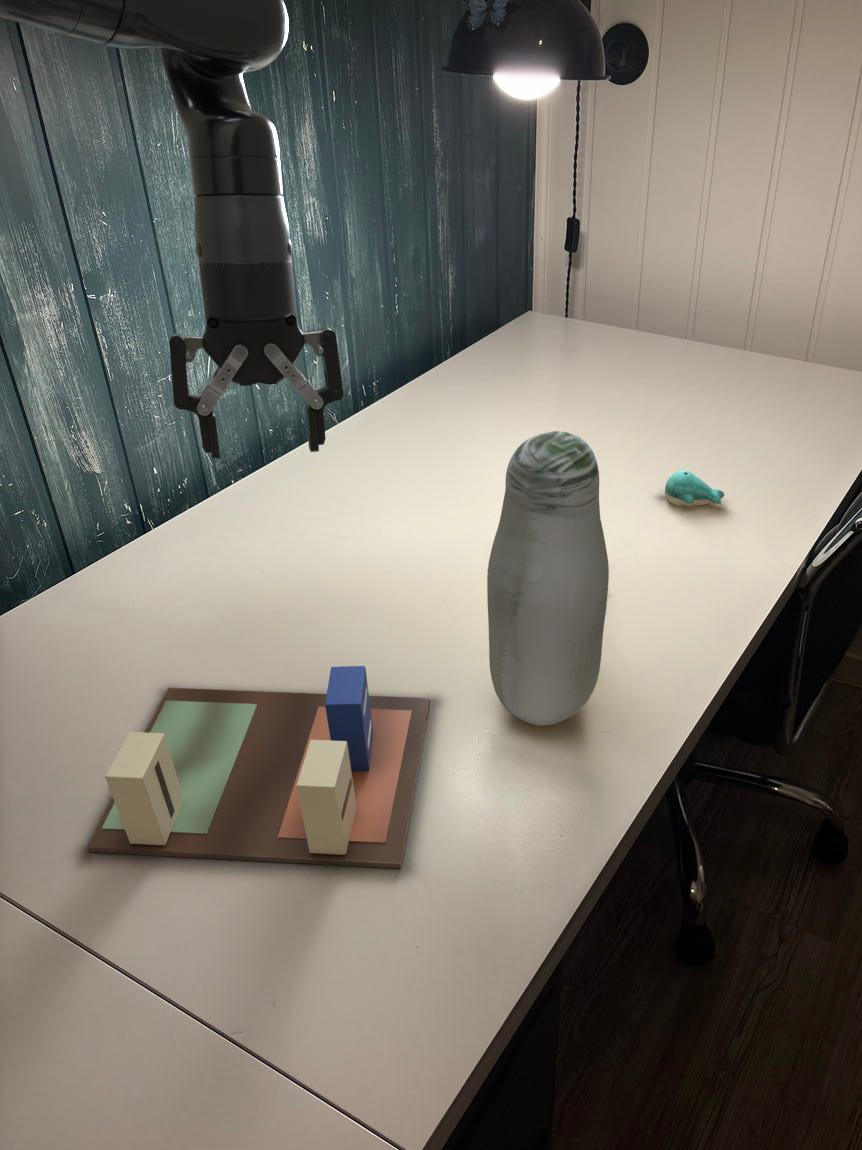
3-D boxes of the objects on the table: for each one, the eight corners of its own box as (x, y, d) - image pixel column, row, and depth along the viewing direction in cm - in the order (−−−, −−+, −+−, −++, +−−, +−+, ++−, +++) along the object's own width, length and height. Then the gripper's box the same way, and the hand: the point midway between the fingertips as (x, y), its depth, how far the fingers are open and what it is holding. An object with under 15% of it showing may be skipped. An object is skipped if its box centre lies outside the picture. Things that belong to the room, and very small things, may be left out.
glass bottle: (570, 757, 86) (586, 482, 68) (472, 720, 90) (464, 452, 72) (613, 693, 93) (637, 428, 75) (519, 662, 97) (522, 403, 79)
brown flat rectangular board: (88, 852, 78) (86, 846, 78) (169, 692, 94) (168, 686, 93) (400, 868, 76) (400, 863, 76) (430, 702, 92) (429, 697, 92)
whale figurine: (671, 485, 124) (674, 459, 122) (726, 496, 122) (731, 470, 120) (658, 506, 120) (661, 479, 118) (715, 518, 118) (719, 491, 115)
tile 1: (129, 844, 78) (103, 776, 73) (150, 798, 82) (127, 731, 77) (166, 846, 78) (142, 778, 73) (185, 800, 82) (164, 732, 77)
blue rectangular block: (334, 771, 84) (324, 704, 79) (340, 732, 88) (330, 666, 83) (369, 770, 84) (361, 703, 79) (373, 731, 88) (365, 665, 83)
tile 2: (308, 853, 77) (295, 785, 72) (321, 806, 81) (309, 739, 76) (346, 855, 77) (335, 787, 72) (357, 808, 80) (347, 740, 76)
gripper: (327, 254, 83) (340, 440, 89) (156, 257, 79) (182, 450, 86) (338, 256, 76) (351, 457, 83) (152, 260, 73) (181, 469, 79)
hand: (265, 453), depth 84 cm, fingers open, 8 cm apart
